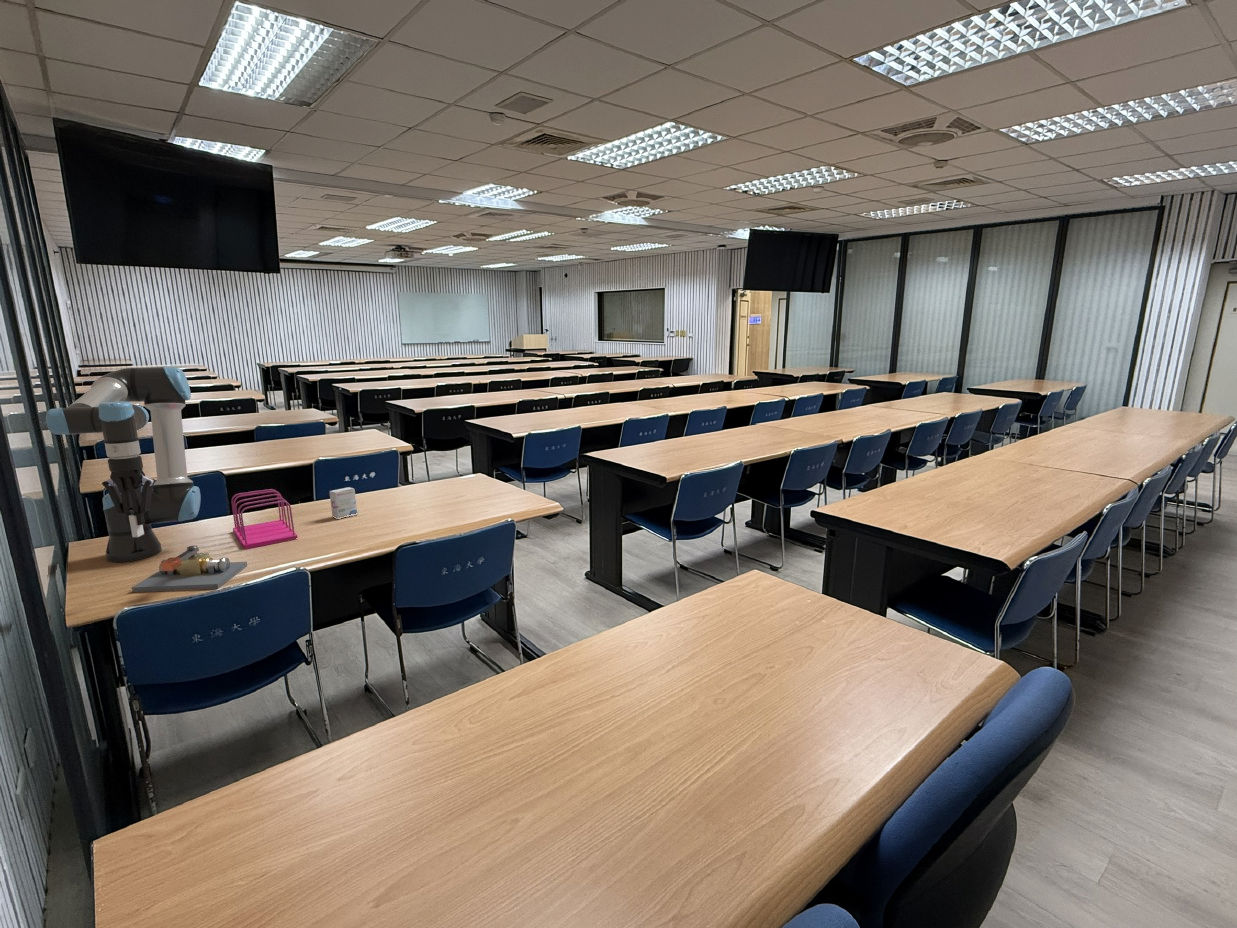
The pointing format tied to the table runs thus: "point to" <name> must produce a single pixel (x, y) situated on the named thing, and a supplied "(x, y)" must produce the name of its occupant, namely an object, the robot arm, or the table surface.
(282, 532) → the file sorter
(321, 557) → the table surface
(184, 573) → the valve pipe
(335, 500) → the ink box
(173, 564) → the valve lever
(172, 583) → the mounting board
